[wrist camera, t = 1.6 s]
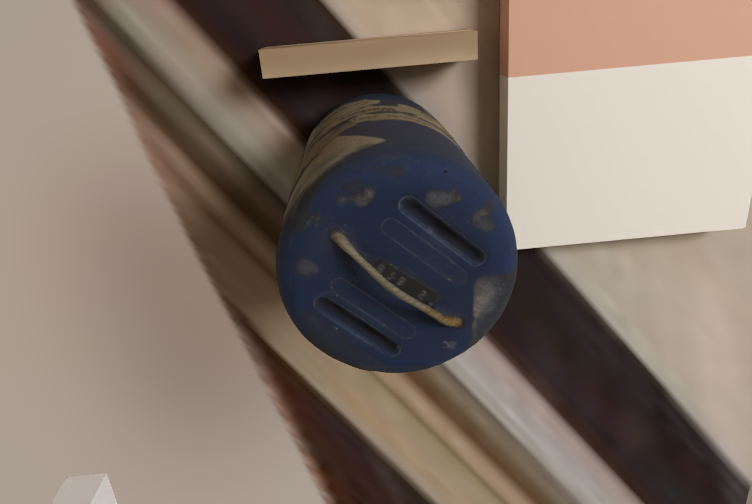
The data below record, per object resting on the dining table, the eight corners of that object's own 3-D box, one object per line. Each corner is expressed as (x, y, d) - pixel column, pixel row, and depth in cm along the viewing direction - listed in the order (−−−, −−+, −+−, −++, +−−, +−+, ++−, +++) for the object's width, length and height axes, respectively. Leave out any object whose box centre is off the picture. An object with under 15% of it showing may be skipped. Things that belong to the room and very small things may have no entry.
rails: (470, 264, 39) (479, 283, 37) (300, 280, 39) (297, 301, 36) (466, 29, 33) (477, 30, 30) (265, 47, 33) (258, 50, 30)
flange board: (726, 217, 39) (789, 251, 33) (498, 239, 39) (524, 276, 33) (794, -164, 30) (894, -204, 25) (501, -139, 30) (535, -174, 24)
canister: (393, 56, 34) (438, 98, 17) (477, 177, 37) (584, 311, 20) (272, 152, 36) (207, 272, 19) (362, 259, 39) (374, 441, 22)
